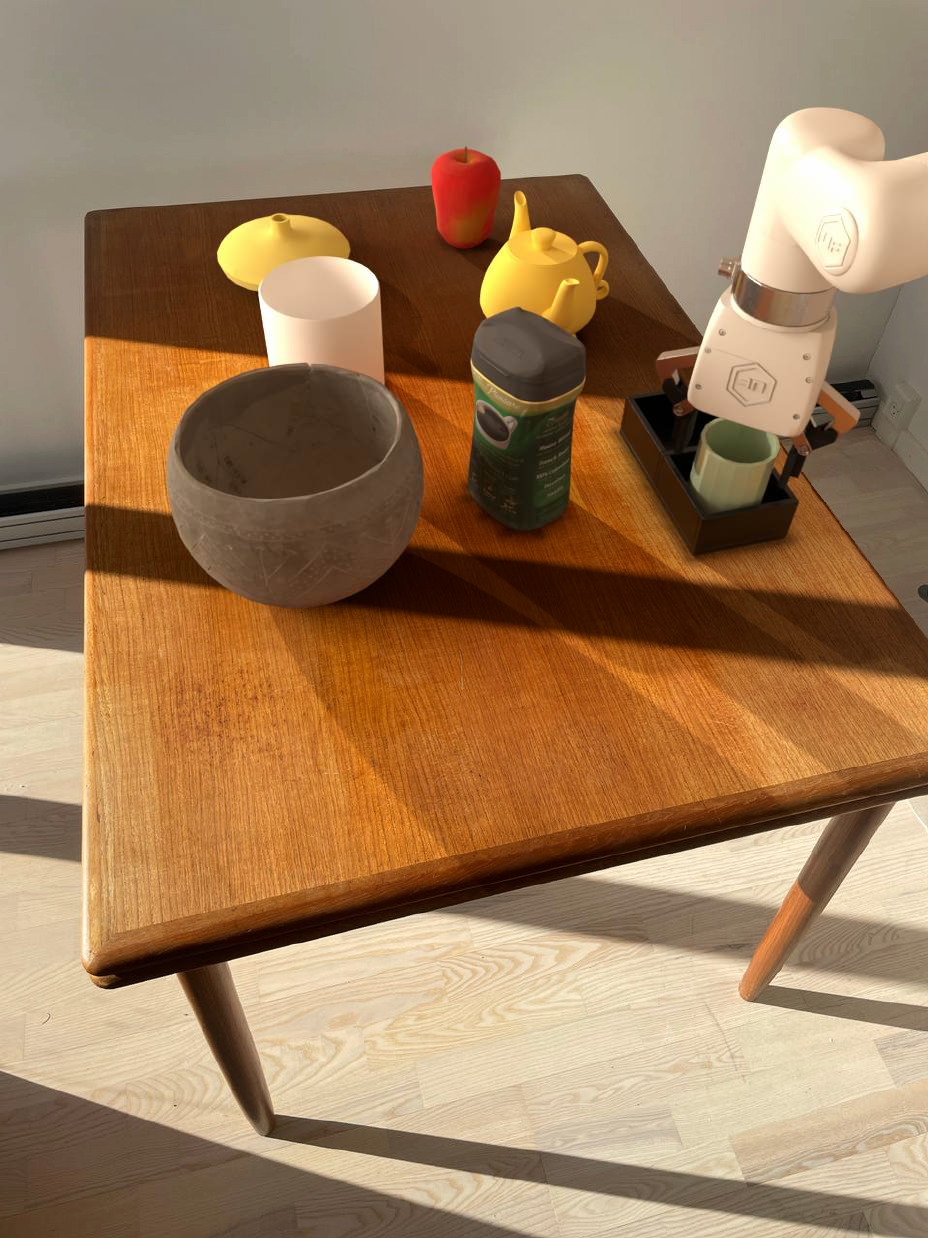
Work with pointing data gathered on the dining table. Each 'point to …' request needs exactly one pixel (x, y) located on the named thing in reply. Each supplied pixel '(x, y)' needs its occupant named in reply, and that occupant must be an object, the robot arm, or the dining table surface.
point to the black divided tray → (669, 476)
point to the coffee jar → (523, 417)
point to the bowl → (296, 483)
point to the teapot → (544, 275)
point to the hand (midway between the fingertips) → (732, 461)
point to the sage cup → (732, 466)
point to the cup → (323, 315)
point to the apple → (465, 196)
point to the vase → (276, 246)
